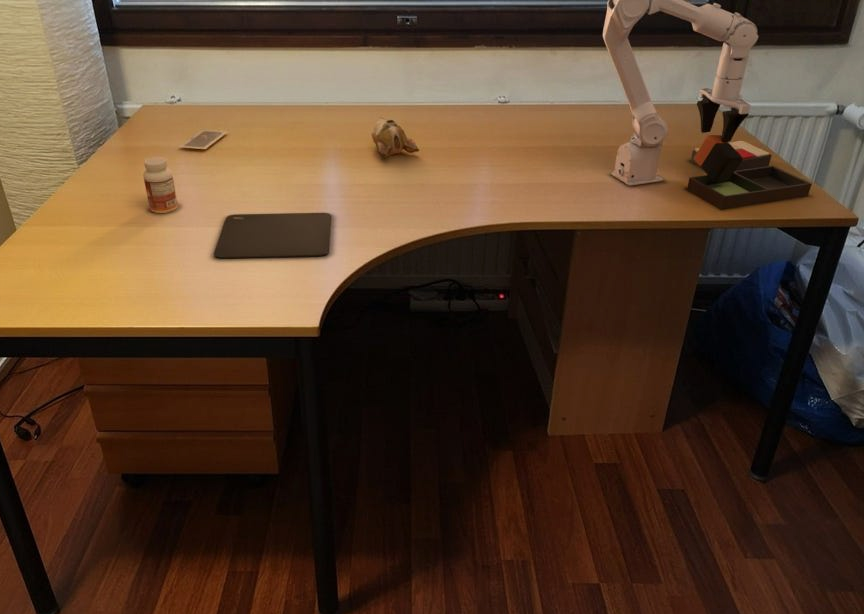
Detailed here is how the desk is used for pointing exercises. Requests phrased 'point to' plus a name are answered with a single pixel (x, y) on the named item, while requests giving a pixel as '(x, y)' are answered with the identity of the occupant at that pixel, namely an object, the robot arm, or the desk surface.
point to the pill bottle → (159, 185)
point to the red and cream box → (746, 156)
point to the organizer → (749, 187)
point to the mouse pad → (274, 235)
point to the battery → (717, 158)
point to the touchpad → (203, 139)
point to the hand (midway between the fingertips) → (715, 136)
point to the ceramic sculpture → (391, 138)
